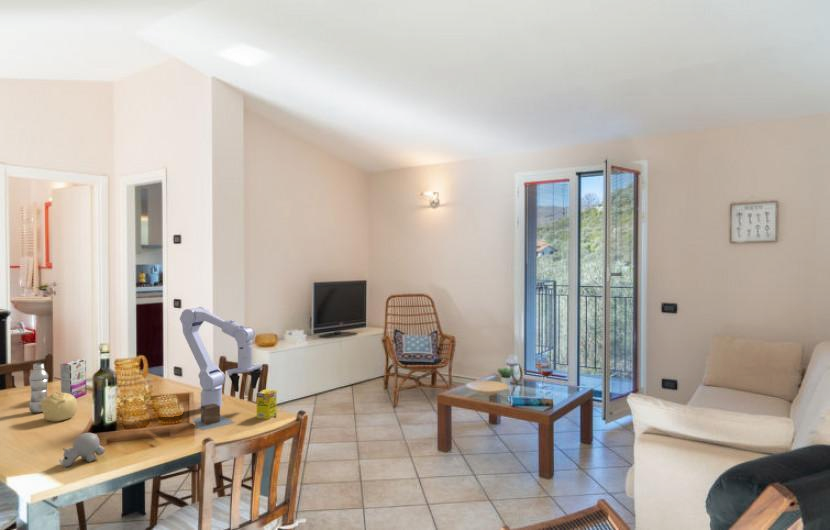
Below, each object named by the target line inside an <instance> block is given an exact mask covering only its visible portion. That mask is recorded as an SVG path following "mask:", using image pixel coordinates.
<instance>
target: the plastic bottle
mask: <svg viewBox="0 0 830 530" xmlns="http://www.w3.org/2000/svg"><path fill="white" fill-rule="evenodd" d="M32 366H33V367H32V369H33V371H32V372H31V374H30V375H29V377H28V380H29V385H30V386H29V387H30V401H29V406H28V408H29V411H30V413H31V414H32V413H33V414H36V413H38V414H39V413H43V411H42V409H41V404H40V402H41V400H42V399H44V398H45V397H46V396H48V382H49V373H48V372H47V371H46V370H45V363H43V362H42V363H40V362H38V363H34V364H32Z"/></svg>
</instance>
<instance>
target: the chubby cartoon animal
mask: <svg viewBox="0 0 830 530" xmlns="http://www.w3.org/2000/svg"><path fill="white" fill-rule="evenodd" d="M62 450H63V458H62V459H60V458H59V459H58V462H59V463H60V464H61V465H62V466H63V467H65V468H69V467H71V466H72V464H73V463H74V462H75V461H76V460H78V458H79V457H81V459H82V460H83V461H84V460H86V462H87V463H91V462H93V461H95V460H96V458H97V456H101V455H103V454H104V453H105V452H106V448H104V446H102V445H101V444H100V438H99V435H98V434H96V433H92V432H84V433H81V434H80V435H78V436H77V437H76V438H75V440H74V441H73V444H72V447H69V448H67V449H66V448H65V447H64V448H62ZM96 455H97V456H96Z"/></svg>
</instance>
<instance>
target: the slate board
mask: <svg viewBox="0 0 830 530" xmlns="http://www.w3.org/2000/svg"><path fill="white" fill-rule="evenodd" d="M193 419H194V423H195V426H194V427H195V428H197V429H199V430H201V431H206V430H210V429H215V428H218V427H219V428H220V427H224V426H229V425H232V424H235V423H236V421H234V420H231V419H230V418H227V417H226V416H223V415H221V414H220V422H216V423H212V424H207V425H206V424H204V423H203V422H201V416H200V417H196V418H193Z"/></svg>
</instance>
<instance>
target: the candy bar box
mask: <svg viewBox="0 0 830 530" xmlns="http://www.w3.org/2000/svg"><path fill="white" fill-rule="evenodd" d="M86 360H87V359H86V358H85V359H78V358H76V359H72V360H70V361H68V362H64V363H61V364H60V367H59V368H60V393H69V394H71V395H73V396H74V397H75V398H76V399H77V398H80V397H82V396H85V395H86V394H87V393H88V392H87V369H86V368H87V365H86V363H87V361H86Z"/></svg>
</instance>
